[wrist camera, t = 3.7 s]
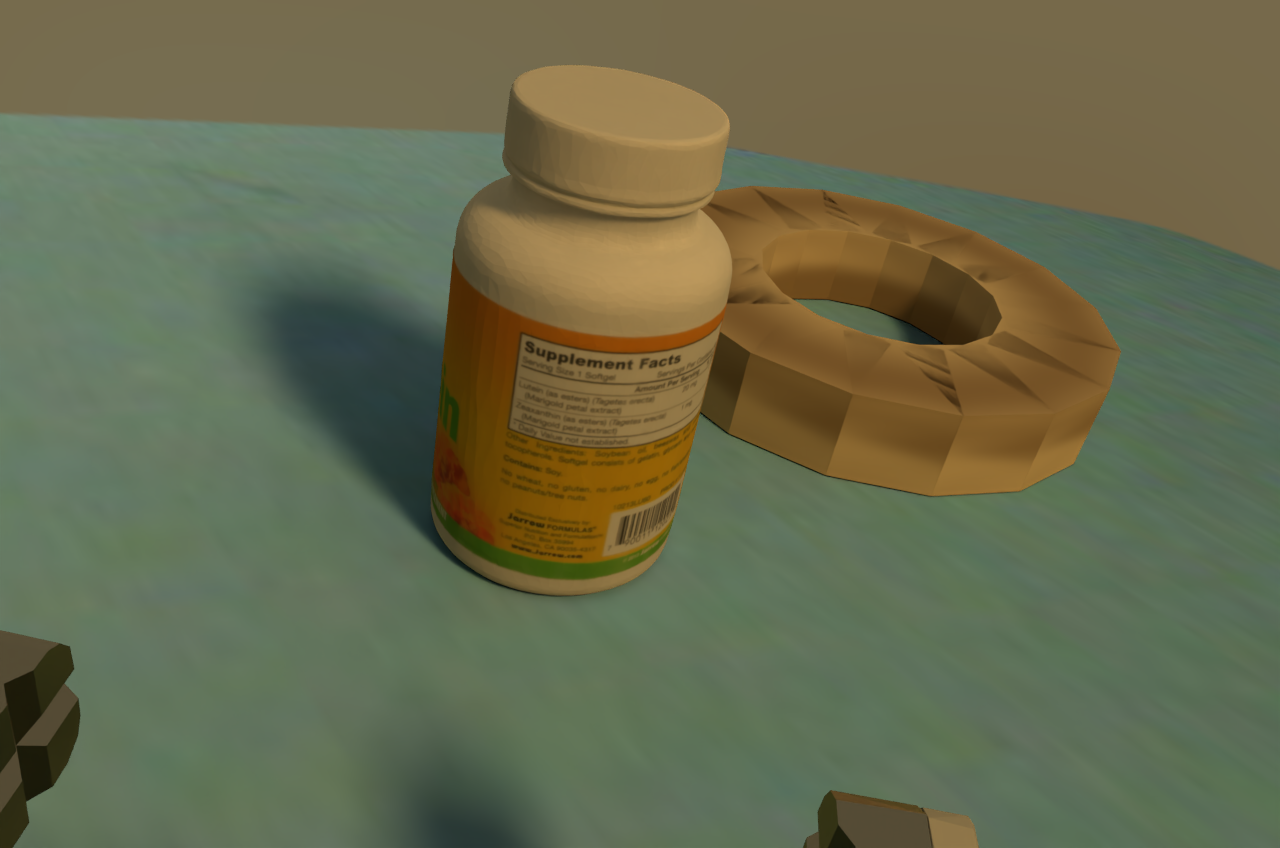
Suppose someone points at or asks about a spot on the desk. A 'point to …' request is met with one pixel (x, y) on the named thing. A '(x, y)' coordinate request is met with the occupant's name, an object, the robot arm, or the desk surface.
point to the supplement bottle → (581, 331)
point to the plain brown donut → (900, 347)
